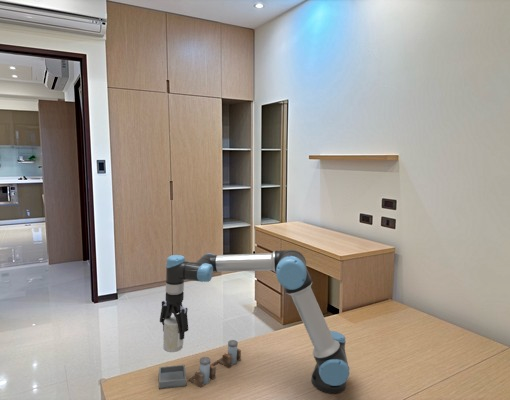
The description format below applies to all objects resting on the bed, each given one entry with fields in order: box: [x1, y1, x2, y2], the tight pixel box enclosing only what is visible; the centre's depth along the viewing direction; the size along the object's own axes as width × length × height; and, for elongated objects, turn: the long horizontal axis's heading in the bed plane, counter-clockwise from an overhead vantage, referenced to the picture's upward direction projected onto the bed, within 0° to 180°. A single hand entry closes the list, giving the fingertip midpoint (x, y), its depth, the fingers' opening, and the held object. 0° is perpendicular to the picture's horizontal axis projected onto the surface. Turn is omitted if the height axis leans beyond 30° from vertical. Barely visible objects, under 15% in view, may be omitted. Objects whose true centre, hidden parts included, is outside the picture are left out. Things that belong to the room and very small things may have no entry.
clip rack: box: [187, 348, 242, 388], centre depth 162 cm, size 8×28×5 cm, turn 145°
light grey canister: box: [162, 316, 184, 353], centre depth 151 cm, size 8×8×12 cm
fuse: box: [227, 339, 238, 366], centre depth 169 cm, size 5×5×10 cm
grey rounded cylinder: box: [199, 356, 211, 385], centre depth 153 cm, size 5×5×10 cm
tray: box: [158, 364, 187, 390], centre depth 153 cm, size 11×11×3 cm
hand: (173, 342), depth 152 cm, fingers closed on light grey canister, 8 cm apart
